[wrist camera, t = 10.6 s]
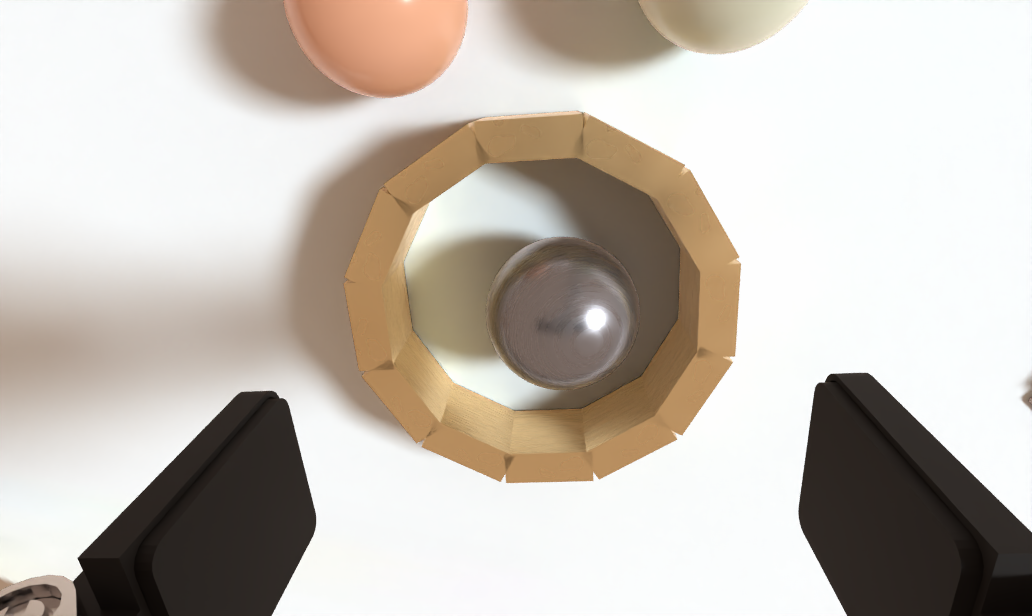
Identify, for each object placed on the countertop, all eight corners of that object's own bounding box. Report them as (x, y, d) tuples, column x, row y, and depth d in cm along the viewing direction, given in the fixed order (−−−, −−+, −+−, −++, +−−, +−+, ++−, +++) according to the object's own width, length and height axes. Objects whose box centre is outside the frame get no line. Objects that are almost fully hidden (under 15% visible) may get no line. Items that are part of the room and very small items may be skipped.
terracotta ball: (309, -69, 18) (224, -126, 13) (470, -85, 18) (441, -149, 13) (336, 102, 20) (270, 105, 15) (484, 91, 19) (463, 91, 15)
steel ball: (466, 232, 20) (499, 271, 16) (602, 215, 21) (670, 246, 17) (479, 363, 22) (512, 432, 17) (604, 342, 23) (667, 402, 18)
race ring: (349, 126, 20) (317, 132, 17) (721, 100, 19) (750, 101, 16) (399, 440, 24) (379, 486, 21) (705, 431, 23) (727, 477, 21)
